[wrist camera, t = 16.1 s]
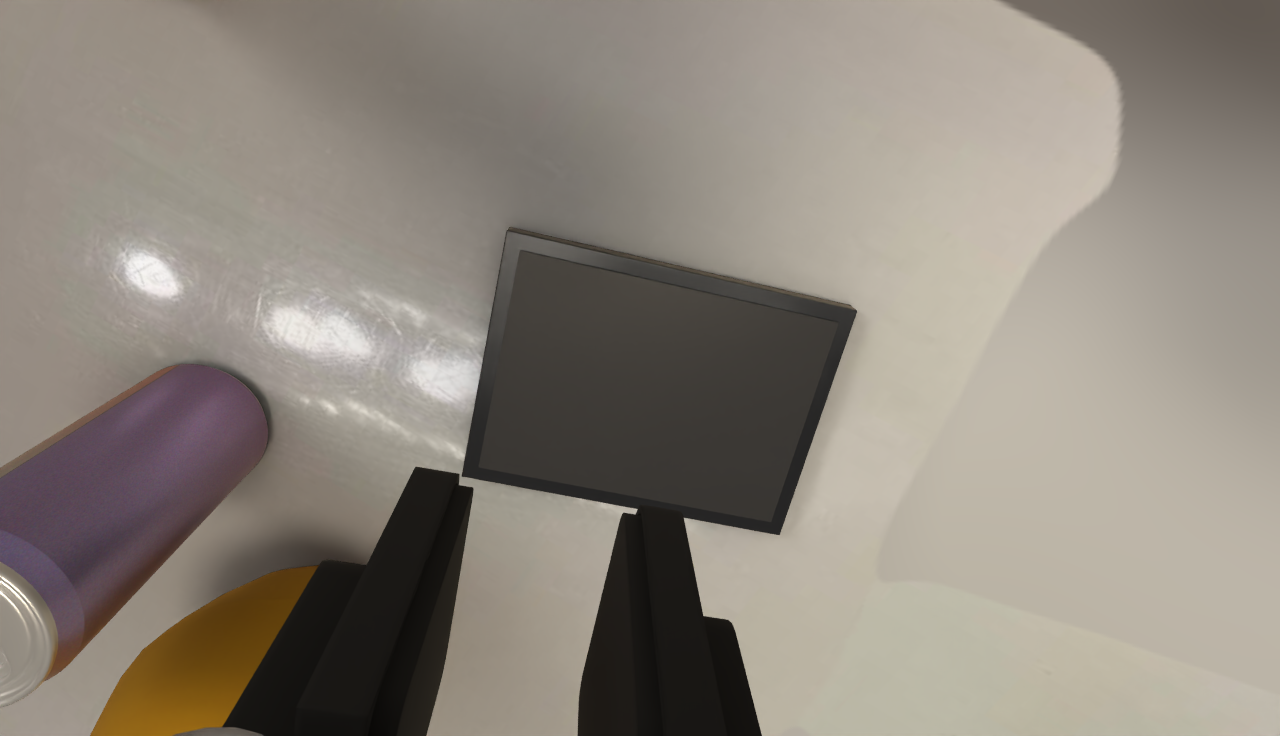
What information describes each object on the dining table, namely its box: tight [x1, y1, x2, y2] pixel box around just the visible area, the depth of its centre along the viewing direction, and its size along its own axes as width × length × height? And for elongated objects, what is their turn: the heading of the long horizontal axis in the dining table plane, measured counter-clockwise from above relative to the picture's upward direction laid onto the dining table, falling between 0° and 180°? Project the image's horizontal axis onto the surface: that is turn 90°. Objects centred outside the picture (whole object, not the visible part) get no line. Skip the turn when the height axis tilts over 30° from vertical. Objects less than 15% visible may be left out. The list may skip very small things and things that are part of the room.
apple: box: [90, 565, 319, 736], centre depth 33 cm, size 11×11×13 cm
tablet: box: [462, 227, 857, 535], centre depth 35 cm, size 12×16×1 cm
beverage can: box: [0, 364, 268, 708], centre depth 28 cm, size 6×6×15 cm
